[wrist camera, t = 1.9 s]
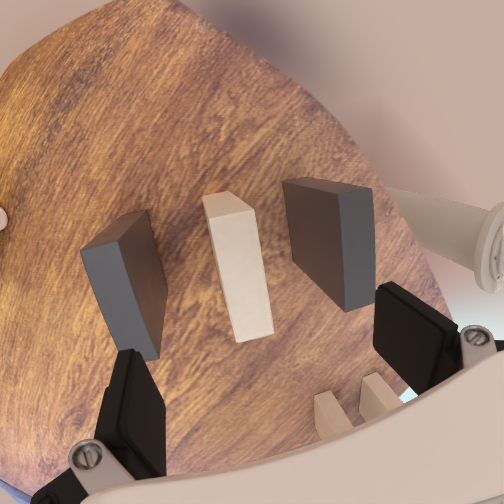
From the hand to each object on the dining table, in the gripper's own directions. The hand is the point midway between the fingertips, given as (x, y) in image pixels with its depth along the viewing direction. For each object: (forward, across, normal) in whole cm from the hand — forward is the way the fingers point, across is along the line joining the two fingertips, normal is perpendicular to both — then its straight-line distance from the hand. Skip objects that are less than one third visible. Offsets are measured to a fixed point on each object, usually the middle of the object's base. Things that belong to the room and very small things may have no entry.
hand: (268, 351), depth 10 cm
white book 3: (+18, -16, +28) cm, 37 cm away
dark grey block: (+18, -8, 0) cm, 19 cm away
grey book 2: (+18, +7, 0) cm, 19 cm away
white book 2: (+18, -9, +28) cm, 34 cm away
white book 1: (+18, 0, 0) cm, 18 cm away
